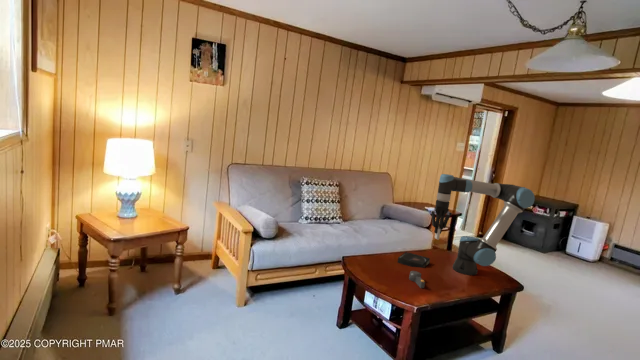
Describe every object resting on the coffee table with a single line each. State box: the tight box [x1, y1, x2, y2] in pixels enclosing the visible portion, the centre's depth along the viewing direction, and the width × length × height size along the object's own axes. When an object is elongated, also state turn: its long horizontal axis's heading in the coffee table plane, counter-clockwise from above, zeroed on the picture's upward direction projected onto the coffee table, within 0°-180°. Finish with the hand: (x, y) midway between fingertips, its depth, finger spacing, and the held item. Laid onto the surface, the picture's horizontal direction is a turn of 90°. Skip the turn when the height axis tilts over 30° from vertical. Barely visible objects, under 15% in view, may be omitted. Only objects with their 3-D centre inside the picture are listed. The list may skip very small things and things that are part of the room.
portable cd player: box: [396, 251, 431, 269], centre depth 237 cm, size 16×17×4 cm
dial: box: [408, 270, 426, 289], centre depth 201 cm, size 14×6×4 cm, turn 7°
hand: (436, 238), depth 212 cm, fingers closed
